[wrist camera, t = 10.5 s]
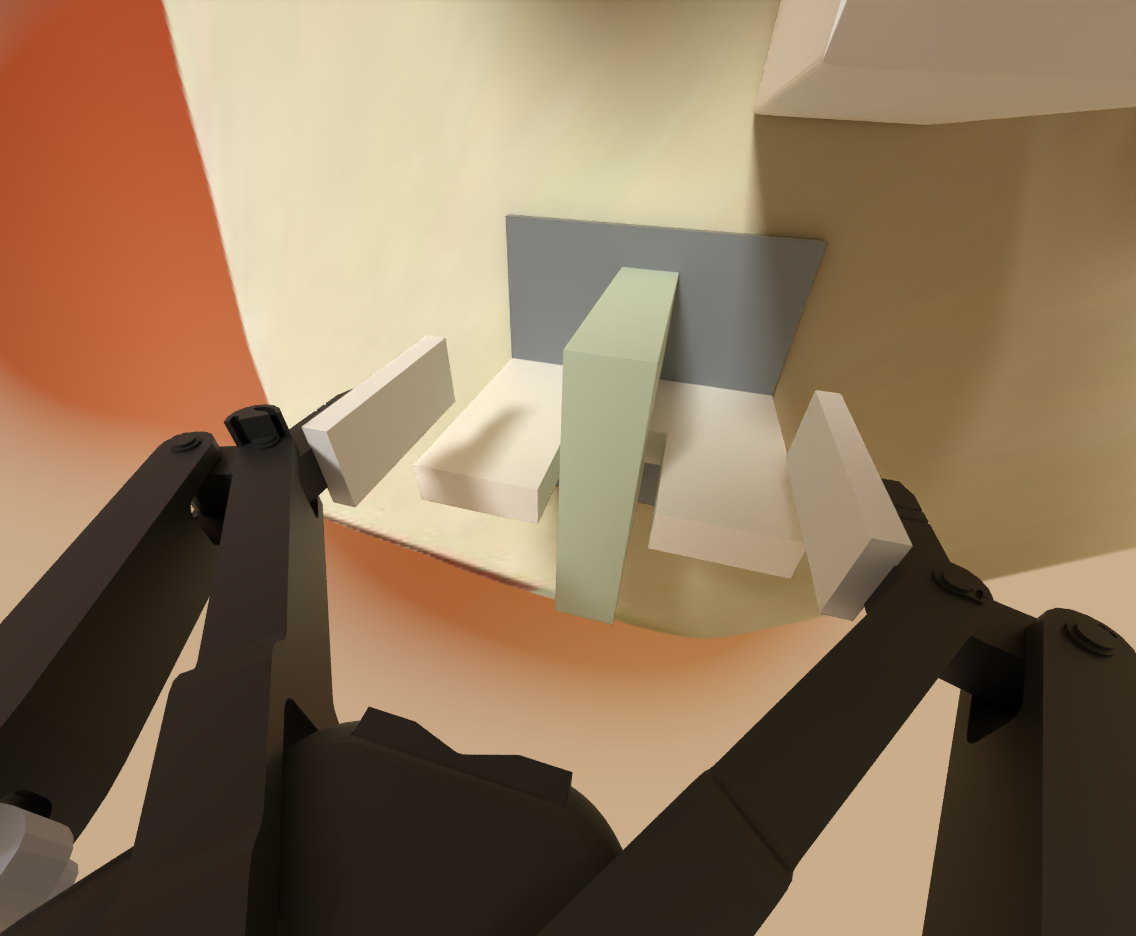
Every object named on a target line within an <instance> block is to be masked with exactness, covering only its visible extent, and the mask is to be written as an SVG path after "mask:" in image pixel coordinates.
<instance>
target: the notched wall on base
mask: <svg viewBox="0 0 1136 936" xmlns="http://www.w3.org/2000/svg"><path fill="white" fill-rule="evenodd" d="M506 234H507V257H508V279H509V302H510V324H511V347H512V359H511V360H510V361H509V362H508V363H507V364H506V365H505V366H504V367H503V368H502V369H501V371H500V372H499V373H498V374H497V375H496V376H495V377H494V378H493V379H492V380H491V381H490V382H489V384H488V385H487V386H486V387H485V388H484V389H483V390H482V391H481V392H480V393H479V394H478V395H477V397H476V398H475V399H474V400H473V401H472V402H471V403H470V404H469V405H468V406H467V407H466V409H465V410H464V411H463V412H462V413H461V414H460V415H459V416H458V417H457V418H456V419H455V420H454V422H453V423H452V424H451V425H450V426H449V427H448V428H447V429H446V430H445V431H444V432H443V433H442V435H441V436H440V437H439V438H438V439H437V440H436V441H435V442H434V443H433V444H432V445H431V447H430V448H429V449H428V450H427V451H426V452H425V453H424V454H423V455H422V456H421V457H420V458H419V460H418V461H417V462H416V463H415V464H414V468H415V473H416V477H417V482H418V486H419V490H420V495H421V499H422V500H426V501H431V502H435V503H440V504H445V505H449V506H454V507H459V508H463V509H468V510H473V511H477V512H482V513H487V514H491V515H496V516H500V517H505V518H510V519H514V520H519V521H524V522H528V523H533V524H538V523H539V521H540V519H541V516H542V514H543V512H544V510H545V508H546V505H547V503H548V501H549V499H550V496H551V494H552V492H553V490H554V488H555V486H558V487H559V472H560V440H561V407H562V375H563V350H564V348H565V347H566V345H567V344H568V342H569V341H570V340H571V338H572V337H573V335H574V334H575V333H576V331H577V330H578V328H579V327H580V326H581V324H582V323H583V321H584V320H585V318H586V317H587V316H588V314H589V313H590V311H591V310H592V309H593V307H594V306H595V304H596V303H597V302H598V300H599V299H600V297H601V296H602V295H603V293H604V292H605V290H606V289H607V287H608V286H609V285H610V283H611V282H612V280H613V279H614V278H615V276H616V275H617V273H618V272H619V271H620V269H621V268H622V267H628V268H638V269H648V270H658V271H668V272H678V273H679V275H678V281H677V286H676V292H675V297H674V303H673V308H672V314H671V320H670V325H669V331H668V336H667V342H666V347H665V353H664V358H663V364H662V369H661V374H660V378H659V383H658V388H657V393H656V397H655V402H654V407H653V411H652V416H651V422H650V428H649V433H648V439H647V444H646V450H645V456H644V461H643V462H645V464H644V470H643V475H642V481H641V486H640V491H639V496H638V501H637V502H639V503H644V504H649V505H654V511H653V518H652V524H651V531H650V537H649V544H648V548H649V549H654V550H658V551H663V552H668V553H672V554H677V555H682V556H686V557H691V558H695V559H700V560H705V561H709V562H714V563H719V564H723V565H728V566H733V567H737V568H742V569H747V570H751V571H756V572H761V573H765V574H770V575H774V576H779V577H784V578H788V579H791V577H792V575H793V573H794V571H795V569H796V568H797V566H798V564H799V562H800V560H801V559H802V557H803V555H804V553H805V551H806V549H805V544H804V539H803V535H802V530H801V525H800V521H799V516H798V511H797V507H796V502H795V497H794V493H793V488H792V484H791V479H790V474H789V470H788V465H787V460H786V456H787V452H786V448H785V444H784V440H783V436H782V432H781V428H780V424H779V420H778V416H777V412H776V408H775V404H774V400H773V396H772V395H773V392H774V390H775V387H776V384H777V381H778V379H779V376H780V373H781V370H782V368H783V365H784V362H785V359H786V357H787V354H788V351H789V348H790V345H791V343H792V340H793V337H794V334H795V332H796V329H797V326H798V323H799V321H800V318H801V315H802V312H803V310H804V307H805V304H806V301H807V298H808V296H809V293H810V290H811V287H812V285H813V282H814V279H815V276H816V274H817V271H818V268H819V265H820V263H821V260H822V257H823V254H824V251H825V249H826V246H827V243H828V242H827V241H825V240H817V239H804V238H792V237H780V236H767V235H755V234H743V233H731V232H718V231H706V230H694V229H681V228H669V227H657V226H644V225H632V224H620V223H608V222H595V221H583V220H571V219H558V218H546V217H534V216H522V215H507V216H506Z"/></svg>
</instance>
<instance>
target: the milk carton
mask: <svg viewBox="0 0 1136 936" xmlns="http://www.w3.org/2000/svg"><path fill="white" fill-rule="evenodd" d="M1127 107H1136V0H781V2H780V6H779V10H778V14H777V18H776V23H775V27H774V31H773V35H772V39H771V43H770V47H769V51H768V55H767V59H766V63H765V67H764V71H763V75H762V79H761V83H760V87H759V91H758V95H757V99H756V103H755V107H754V112H755V113H756V114H761V115H773V116H789V117H805V118H821V119H837V120H853V121H870V122H886V123H902V124H920V125H932V124H944V123H956V122H967V121H978V120H990V119H1001V118H1013V117H1024V116H1036V115H1047V114H1058V113H1070V112H1081V111H1093V110H1104V109H1116V108H1127Z"/></svg>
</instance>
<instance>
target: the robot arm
mask: <svg viewBox="0 0 1136 936" xmlns="http://www.w3.org/2000/svg"><path fill="white" fill-rule="evenodd" d="M454 402H455V398H454V391H453V385H452V378H451V372H450V365H449V359H448V352H447V346H446V339H445V338H443V337H436V336H429V335H427V336H425V337H424V338H423V339H421V340H420V341H418V342H417V343H416V344H414V345H413V346H412V347H410V348H409V349H407V350H406V351H405V352H403V353H402V354H401V355H399V356H398V357H396V358H395V359H394V360H392V361H391V362H390V363H388V364H387V365H385V366H384V367H383V368H381V369H380V370H379V371H377V372H376V373H375V374H373V375H372V376H370V377H369V378H368V379H366V380H365V381H364V382H362V383H361V384H359V385H358V386H357V387H355V388H354V389H351V390H349V391H346V392H344V393H341V394H339V395H337V396H335V397H334V398H333V399H331V400H330V401H328V402H327V403H326V405H323V406H321V407H320V408H319V409H317V412H316V411H314V412H313V413H312V414H310V415H309V416H307V417H306V418H305V419H303V420H302V421H300V422H299V423H298V424H296V425H295V426H293V427H292V428H291V429H288V426H287V424H286V422H285V420H284V417H283V415H282V413H281V411H280V408H278V407H276V406H274V405H265V404H264V405H254V406H250V407H246V408H243V409H241V410H238V411H236V412H234V413H232V414H231V415H229V416H228V417H227V418H226V420H225V421H224V424H225V425H226V427H227V429H228V431H229V432H230V434H231V436H232V438H233V440H234V442H235V443H236V445H237V446H224V447H219V445H218V444H217V442H216V440H215V439H214V437H213V435H212V434H211V433H208V432H190V433H183V434H181V435H176V436H174V437H173V438H171V439H169V440H167V441H165V442H164V443H162V444H161V445H160V446H159V447H157V449H156V450H155V451H154V452H153V453H152V454H151V455H150V456H149V458H148V459H147V460H146V461H145V462H144V463H143V464H142V465H141V467H140V468H139V469H138V470H137V471H136V472H135V473H134V474H133V476H132V477H131V478H130V479H129V480H128V481H127V482H126V483H125V484H124V486H123V487H122V488H121V489H120V490H119V491H118V492H117V493H116V495H115V496H114V497H113V498H112V499H111V500H110V501H109V503H108V504H107V505H106V506H105V507H104V508H103V509H102V510H101V511H100V513H99V514H98V515H97V516H96V517H95V518H94V519H93V520H92V522H91V523H90V524H89V525H88V526H87V527H86V528H85V529H84V531H83V532H82V533H81V534H80V535H79V536H78V537H77V538H76V540H75V541H74V542H73V543H72V544H71V545H70V546H69V547H68V548H67V550H66V551H65V552H64V553H63V554H62V555H61V556H60V557H59V559H58V560H57V561H56V562H55V563H54V564H53V565H52V566H51V568H50V569H49V570H48V571H47V572H46V573H45V574H44V575H43V577H42V578H41V579H40V580H39V581H38V582H37V583H36V584H35V585H34V587H33V588H32V589H31V590H30V591H29V592H28V593H27V594H26V596H25V597H24V598H23V599H22V600H21V601H20V602H19V603H18V605H17V606H16V607H15V608H14V609H13V610H12V611H11V612H10V614H9V615H8V616H7V617H6V618H5V619H4V620H3V621H2V623H1V624H0V936H754V935H755V934H756V932H757V930H759V928H760V927H761V925H762V924H763V923H764V921H765V920H766V919H767V917H768V916H769V915H770V913H771V912H772V911H773V909H774V908H775V907H776V905H777V904H778V902H779V901H780V899H781V898H782V897H783V895H784V893H785V892H786V891H787V889H788V887H789V885H790V883H791V881H792V876H793V871H794V869H795V867H796V866H797V864H798V863H799V861H800V860H801V859H802V857H803V856H804V854H805V853H806V852H807V851H808V849H809V848H810V847H811V845H812V844H813V843H814V841H815V840H816V839H817V837H818V836H819V835H820V833H821V832H822V831H823V829H824V828H825V827H826V825H827V824H828V823H829V821H830V820H831V819H832V818H833V816H834V815H835V814H836V812H837V811H838V809H839V808H840V807H841V806H842V804H843V803H844V802H845V800H846V799H847V798H848V796H849V795H850V794H851V792H852V791H853V790H854V788H855V787H856V786H857V785H858V783H859V782H860V781H861V779H862V778H863V777H864V775H865V774H866V773H867V771H868V770H869V769H870V767H871V766H872V765H873V763H874V762H875V761H876V759H877V758H878V757H879V755H880V754H881V753H882V751H883V750H884V749H885V748H886V746H887V745H888V744H889V742H890V741H891V740H892V738H893V737H894V736H895V734H896V733H897V732H898V730H899V729H900V728H901V726H902V725H903V724H904V722H905V721H906V720H907V718H908V717H909V716H910V714H911V713H912V712H913V710H914V709H915V708H916V706H917V705H918V704H919V703H920V701H921V700H922V699H923V697H924V696H925V695H926V693H927V692H928V691H929V689H930V688H931V687H932V685H933V684H934V683H935V681H936V680H937V679H938V678H940V679H942V680H944V681H946V682H948V683H950V684H952V685H954V686H956V687H958V688H960V689H961V690H960V697H959V703H958V709H957V716H956V722H955V728H954V735H953V741H952V747H951V754H950V760H949V767H948V773H947V779H946V786H945V792H944V799H943V806H942V811H941V818H940V824H939V830H938V837H937V844H936V850H935V856H934V862H933V869H932V876H931V882H930V888H929V895H928V901H927V908H926V914H925V920H924V926H923V933H922V936H1136V653H1135V651H1134V649H1133V648H1132V647H1131V646H1130V645H1129V644H1128V643H1127V642H1126V641H1125V640H1124V639H1123V638H1122V637H1121V636H1120V635H1119V634H1117V633H1116V632H1115V631H1113V630H1112V629H1111V628H1109V627H1108V626H1106V625H1105V624H1103V623H1101V622H1099V621H1097V620H1095V619H1093V618H1092V617H1090V616H1088V615H1085V614H1082V613H1079V612H1076V611H1074V610H1070V609H1063V608H1054V609H1051V610H1048V611H1046V612H1045V613H1043V614H1042V615H1041V616H1040V617H1038V618H1035V617H1032V616H1030V615H1027V614H1025V613H1022V612H1020V611H1018V610H1015V609H1013V608H1010V607H1008V606H1005V605H1003V604H1000V603H998V602H996V601H994V600H993V597H992V595H991V593H990V591H989V589H988V588H987V587H986V586H985V584H984V583H983V582H982V581H981V580H980V579H979V578H978V577H976V576H975V575H973V574H972V573H971V572H969V571H968V570H966V569H964V568H962V567H960V566H958V565H956V564H954V563H951V562H950V561H949V559H948V557H947V555H946V553H945V552H944V550H943V548H942V546H941V544H940V542H939V540H938V539H937V537H936V535H935V533H934V531H933V529H932V527H931V526H930V524H928V520H927V518H926V516H925V514H924V513H923V512H921V511H922V509H921V507H920V505H919V503H918V502H917V500H916V498H915V496H914V495H913V494H912V493H911V492H910V491H909V490H908V489H907V488H905V487H904V486H903V485H902V484H901V483H900V482H899V481H893V480H887V479H881V478H880V476H879V473H878V471H877V469H876V467H875V465H874V463H873V461H872V459H871V456H870V454H869V452H868V450H867V448H866V446H865V444H864V442H863V439H862V437H861V435H860V433H859V431H858V429H857V427H856V425H855V423H854V420H853V418H852V416H851V414H850V412H849V410H848V408H847V406H846V403H845V401H844V399H843V397H842V395H841V394H840V393H833V392H826V391H819V390H815V392H814V394H813V397H812V399H811V401H810V403H809V406H808V408H807V410H806V413H805V415H804V417H803V419H802V422H801V424H800V426H799V429H798V431H797V433H796V436H795V438H794V440H793V442H792V445H791V447H790V449H789V452H788V454H787V456H786V460H787V465H788V470H789V474H790V479H791V484H792V488H793V493H794V497H795V502H796V507H797V511H798V516H799V521H800V525H801V530H802V535H803V539H804V544H805V549H806V553H807V558H808V563H809V567H810V572H811V576H812V581H813V586H814V590H815V595H816V600H817V604H818V609H819V613H820V614H825V615H829V616H834V617H838V618H842V619H847V620H851V621H853V620H854V619H855V618H856V616H857V615H858V614H859V613H860V611H861V610H862V609H863V608H864V606H865V610H866V613H867V615H866V616H865V617H864V618H863V619H862V620H861V621H860V622H859V623H858V624H857V625H856V626H855V627H854V628H853V629H852V630H851V631H850V632H849V633H848V634H847V635H846V636H845V637H844V638H843V639H842V640H841V641H840V642H839V643H838V644H837V645H836V646H835V647H834V648H833V649H832V650H830V651H829V652H828V653H827V654H826V655H825V656H824V657H823V658H822V659H821V660H820V661H819V662H818V663H817V664H816V665H815V666H814V667H813V668H812V669H811V670H810V671H809V672H808V673H807V674H806V675H805V676H804V677H803V678H802V679H801V680H800V681H799V682H798V683H797V684H796V685H795V686H794V687H793V688H792V689H791V690H790V691H789V692H788V693H787V694H786V695H785V696H784V697H783V698H782V699H781V700H780V701H779V702H778V703H777V704H776V705H775V706H774V707H773V708H772V709H771V710H770V711H769V712H768V713H767V714H766V715H765V716H764V717H763V718H762V719H761V720H760V721H759V722H758V723H756V724H755V725H754V726H753V727H752V728H751V729H750V730H749V732H747V733H746V734H745V735H744V737H742V738H741V739H740V740H739V741H738V742H737V743H736V744H735V745H734V746H733V747H732V748H731V749H730V750H729V751H728V752H727V753H726V754H725V755H724V756H723V757H722V758H721V759H720V760H719V761H718V762H717V763H716V764H715V765H714V766H713V767H711V768H710V769H708V770H706V771H705V772H704V773H702V774H701V775H700V776H699V777H698V778H697V779H695V780H694V781H693V782H692V783H691V784H690V785H689V786H688V787H687V788H686V789H685V790H684V791H683V792H682V793H681V794H680V795H679V796H678V797H677V798H676V799H675V800H674V801H673V802H672V803H671V804H670V805H669V806H668V807H667V808H666V809H665V810H664V811H663V812H662V813H660V814H659V815H658V817H656V818H655V819H654V820H653V821H652V822H651V823H650V824H649V825H648V826H647V827H646V828H645V829H644V830H643V831H642V832H641V833H640V834H639V835H638V836H637V837H636V838H635V839H634V840H633V841H632V842H631V843H630V844H629V845H628V846H627V847H626V848H625V849H624V850H623V849H622V847H621V846H620V843H619V841H618V839H617V837H616V836H615V834H614V832H613V830H612V829H611V827H610V826H609V824H608V823H607V821H606V820H605V818H604V817H603V816H602V814H601V813H600V812H599V811H598V810H597V808H596V807H595V806H594V805H593V804H592V803H591V802H590V801H589V800H588V799H587V798H586V797H585V796H583V795H582V794H581V793H580V792H578V791H577V790H576V789H574V788H573V787H571V781H572V772H570V771H567V770H564V769H561V768H558V767H554V766H551V765H548V764H545V763H542V762H539V761H536V760H533V759H530V758H526V757H523V756H520V755H465V754H459V753H457V752H455V751H454V750H452V749H451V748H450V747H448V746H447V745H446V744H444V743H443V742H442V741H440V740H439V739H438V738H436V737H435V736H434V735H432V734H431V733H430V732H428V731H427V730H426V729H424V728H423V727H422V726H420V725H419V724H418V723H416V722H415V721H412V720H408V719H405V718H403V717H399V716H396V715H393V714H390V713H387V712H384V711H381V710H378V709H375V708H372V707H368V709H367V710H366V712H365V714H364V715H363V717H362V719H361V720H360V721H353V722H345V723H341V724H339V722H338V719H337V717H336V713H335V709H334V705H333V695H332V676H331V658H330V639H329V620H328V600H327V580H326V562H325V542H324V524H323V504H322V502H321V500H320V497H319V495H320V494H321V493H322V492H323V491H324V490H325V489H326V488H328V490H329V493H330V495H331V497H332V500H333V502H335V503H339V504H344V505H348V506H352V507H356V506H357V505H358V504H359V503H360V502H361V501H362V500H363V499H364V498H365V497H366V495H367V494H368V493H369V492H370V491H371V490H372V489H373V488H374V487H375V486H376V485H377V484H378V483H379V482H380V481H381V480H382V478H383V477H384V476H385V475H386V474H387V473H388V472H389V471H390V470H391V469H392V468H393V467H394V466H395V465H396V464H397V463H398V461H399V460H400V459H401V458H402V457H403V456H404V455H405V454H406V453H407V452H408V451H409V450H410V449H411V448H412V447H413V446H414V444H415V443H416V442H417V441H418V440H419V439H420V438H421V437H422V436H423V435H424V434H425V433H426V432H427V431H428V430H429V428H430V427H431V426H432V425H433V424H434V423H435V422H436V421H437V420H438V419H439V418H440V417H441V416H442V415H443V414H444V413H445V411H446V410H447V409H448V408H449V407H450V406H451V405H452V404H453V403H454ZM191 505H192V507H193V508H194V511H193V512H192V513H191ZM209 596H210V598H209ZM208 598H209V603H208V609H207V614H206V619H205V625H204V630H203V635H202V640H201V645H200V651H199V656H198V661H197V664H196V667H195V668H194V669H193V670H190V671H187V672H185V673H181V674H179V676H178V677H177V678H176V679H175V680H174V681H173V683H172V686H171V689H170V691H169V694H168V699H167V703H166V708H165V712H164V717H163V721H162V725H161V730H160V734H159V738H158V743H157V747H156V752H155V756H154V760H153V765H152V769H151V774H150V778H149V782H148V787H147V791H146V795H145V800H144V804H143V808H142V813H141V817H140V822H139V826H138V831H137V835H136V839H135V843H134V846H133V847H131V848H130V849H128V850H127V851H125V852H124V853H122V854H120V855H119V856H117V857H116V858H114V859H113V860H111V861H110V862H108V863H106V864H105V865H103V866H102V867H100V868H99V869H97V870H95V871H94V872H92V873H91V874H89V875H88V876H86V877H85V878H83V879H81V880H80V881H78V882H77V883H75V884H74V882H75V880H76V877H77V875H78V864H77V863H75V862H74V861H72V860H70V856H71V853H72V850H73V844H74V842H75V841H76V840H77V838H78V837H79V836H80V834H81V833H82V832H83V830H84V829H85V827H86V826H87V824H88V823H89V821H90V820H91V818H92V817H93V815H94V814H95V812H96V811H97V809H98V808H99V806H100V805H101V803H102V801H103V800H104V799H105V797H106V796H107V794H108V792H109V790H110V788H111V787H112V785H113V783H114V781H115V780H116V778H117V776H118V774H119V772H120V771H121V769H122V767H123V765H124V764H125V762H126V760H127V758H128V756H129V753H130V752H131V750H132V748H133V746H134V744H135V742H136V740H137V738H138V736H139V734H140V732H141V730H142V728H143V726H144V724H145V722H146V720H147V718H148V716H149V715H150V712H151V711H152V709H153V706H154V705H155V703H156V701H157V699H158V696H159V695H160V693H161V691H162V689H163V687H164V685H165V683H166V681H167V679H168V677H169V675H170V673H171V671H172V669H173V667H174V665H175V663H176V661H177V659H178V657H179V655H180V653H181V651H182V649H183V647H184V646H185V644H186V642H187V639H188V637H189V636H190V634H191V632H192V629H193V628H194V626H195V624H196V622H197V620H198V618H199V616H200V614H201V612H202V610H203V608H204V606H205V604H206V602H207V600H208Z"/></svg>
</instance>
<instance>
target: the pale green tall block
mask: <svg viewBox="0 0 1136 936" xmlns="http://www.w3.org/2000/svg"><path fill="white" fill-rule="evenodd" d="M678 275H679V273H678V272H668V271H658V270H648V269H638V268H628V267H622V268H621V269H620V271H619V272H618V273H617V275H616V276H615V278H614V279H613V280H612V282H611V283H610V285H609V286H608V287H607V289H606V290H605V292H604V293H603V295H602V296H601V297H600V299H599V300H598V302H597V303H596V304H595V306H594V307H593V309H592V310H591V311H590V313H589V314H588V316H587V317H586V318H585V320H584V321H583V323H582V324H581V326H580V327H579V328H578V330H577V331H576V333H575V334H574V335H573V337H572V338H571V340H570V341H569V342H568V344H567V345H566V347H565V348H564V350H563V375H562V407H561V440H560V472H559V504H558V537H557V569H556V601H555V610H556V611H560V612H564V613H568V614H572V615H576V616H581V617H584V618H588V619H592V620H596V621H600V622H604V623H608V624H613V620H614V615H615V610H616V605H617V600H618V595H619V590H620V585H621V580H622V575H623V570H624V565H625V560H626V555H627V550H628V545H629V540H630V535H631V530H632V525H633V520H634V515H635V510H636V505H637V501H638V496H639V491H640V486H641V481H642V475H643V470H644V464H645V462H643V461H644V456H645V450H646V444H647V439H648V433H649V428H650V422H651V416H652V411H653V407H654V402H655V397H656V393H657V388H658V383H659V378H660V374H661V369H662V364H663V358H664V353H665V347H666V342H667V336H668V331H669V325H670V320H671V314H672V308H673V303H674V297H675V292H676V286H677V281H678Z"/></svg>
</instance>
